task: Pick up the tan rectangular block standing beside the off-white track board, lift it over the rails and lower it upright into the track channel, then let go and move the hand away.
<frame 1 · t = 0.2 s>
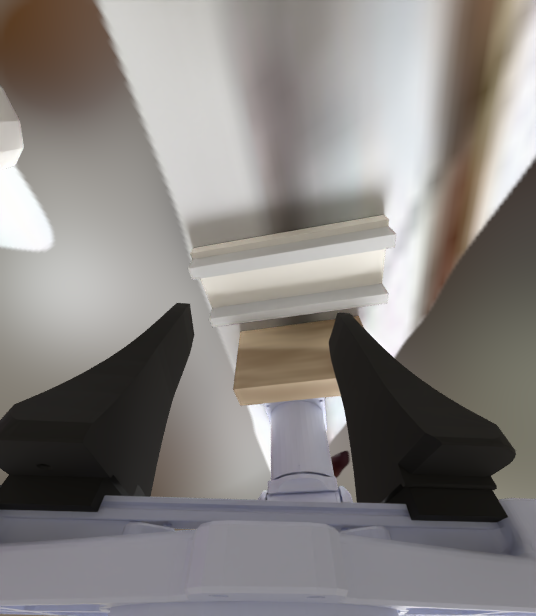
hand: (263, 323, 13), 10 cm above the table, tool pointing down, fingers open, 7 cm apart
track board: (290, 270, 22), on the table
tan rectangular block: (299, 332, 27), on the table
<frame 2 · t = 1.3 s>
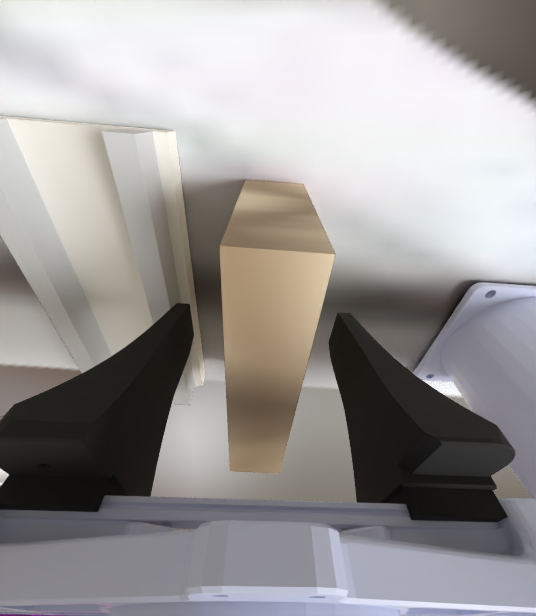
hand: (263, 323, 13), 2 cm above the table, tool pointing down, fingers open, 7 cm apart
track board: (132, 287, 14), on the table
tan rectangular block: (265, 294, 15), on the table
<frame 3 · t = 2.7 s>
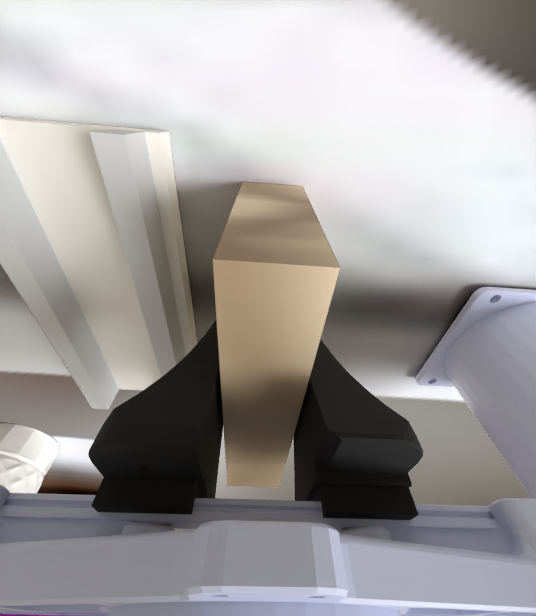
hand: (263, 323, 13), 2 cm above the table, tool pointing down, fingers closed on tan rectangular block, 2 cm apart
track board: (126, 292, 14), on the table
white cup: (23, 437, 24), on the table
tan rectangular block: (263, 300, 14), on the table, touching gripper
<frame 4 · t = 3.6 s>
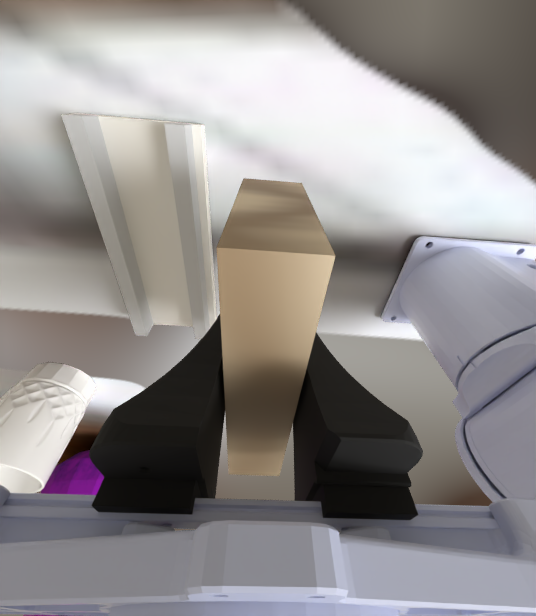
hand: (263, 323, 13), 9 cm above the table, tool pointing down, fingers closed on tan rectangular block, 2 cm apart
track board: (165, 242, 19), on the table
white cup: (66, 378, 30), on the table
tan rectangular block: (264, 295, 15), point 6 cm above the table, touching gripper
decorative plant: (130, 457, 43), on the table
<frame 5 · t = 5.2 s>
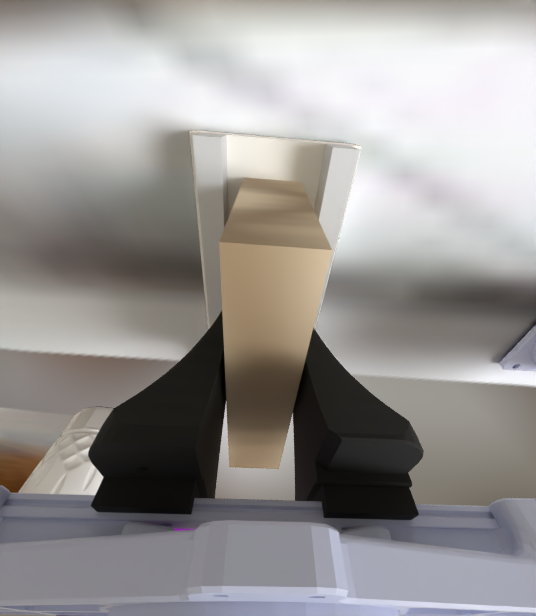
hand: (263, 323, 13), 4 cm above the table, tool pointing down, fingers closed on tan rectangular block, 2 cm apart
track board: (264, 283, 16), on the table
white cup: (112, 421, 26), on the table
tan rectangular block: (264, 292, 15), point 1 cm above the table, touching gripper, track board
when the fingers open (4 cm above the table, at t = 5.8 s): tan rectangular block stays where it is, resting on track board.
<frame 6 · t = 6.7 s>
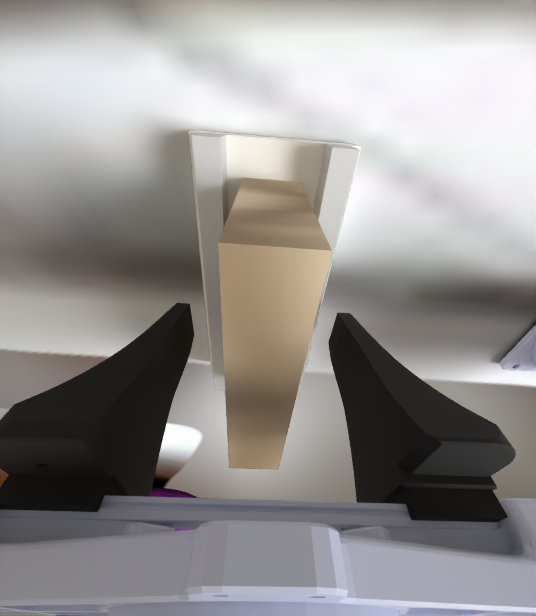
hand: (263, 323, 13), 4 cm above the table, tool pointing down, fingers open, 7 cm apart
track board: (264, 284, 16), on the table
tan rectangular block: (263, 293, 15), point 1 cm above the table, touching track board
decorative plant: (166, 493, 39), on the table
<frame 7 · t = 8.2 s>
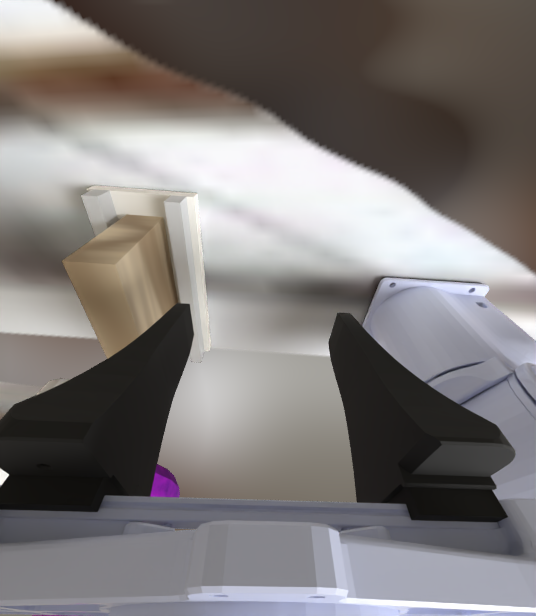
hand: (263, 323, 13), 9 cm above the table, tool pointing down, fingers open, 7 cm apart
track board: (165, 281, 22), on the table
tan rectangular block: (161, 287, 21), point 1 cm above the table, touching track board
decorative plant: (132, 462, 46), on the table
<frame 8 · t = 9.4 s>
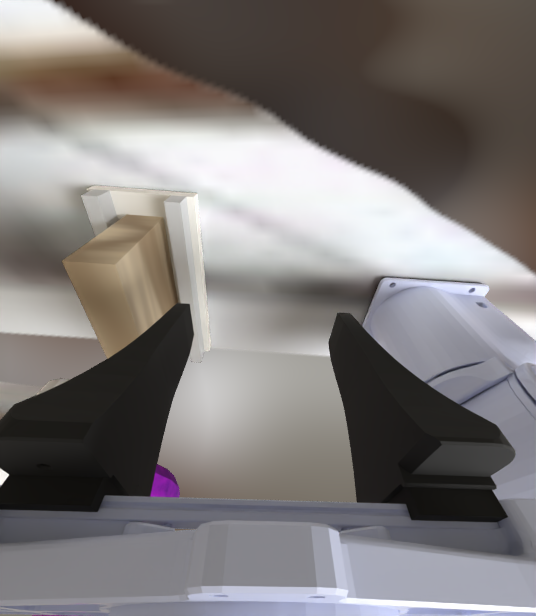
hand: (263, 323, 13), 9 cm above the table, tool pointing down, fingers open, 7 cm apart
track board: (165, 281, 22), on the table
tan rectangular block: (161, 287, 21), point 1 cm above the table, touching track board
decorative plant: (132, 462, 46), on the table
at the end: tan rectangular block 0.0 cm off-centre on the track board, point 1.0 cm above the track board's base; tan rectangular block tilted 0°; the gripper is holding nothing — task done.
